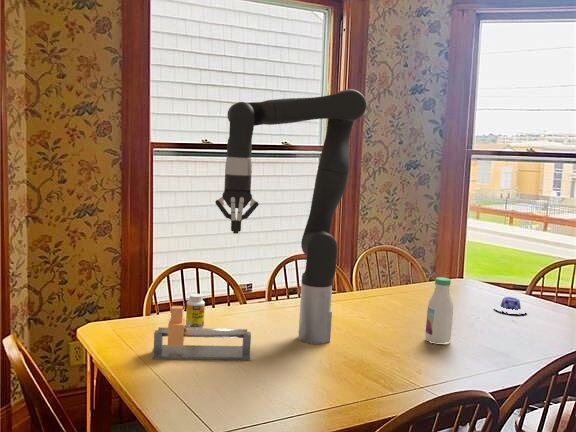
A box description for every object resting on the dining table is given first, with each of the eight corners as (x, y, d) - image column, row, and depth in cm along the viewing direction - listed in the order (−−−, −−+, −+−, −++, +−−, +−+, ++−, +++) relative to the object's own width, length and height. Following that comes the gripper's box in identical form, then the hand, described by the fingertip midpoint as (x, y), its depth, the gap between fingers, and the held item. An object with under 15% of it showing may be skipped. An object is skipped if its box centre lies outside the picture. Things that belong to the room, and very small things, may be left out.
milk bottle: (452, 340, 193) (458, 278, 190) (447, 347, 186) (453, 282, 184) (427, 336, 196) (433, 274, 194) (422, 342, 189) (427, 279, 187)
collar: (184, 339, 171) (185, 304, 170) (182, 346, 165) (184, 310, 164) (169, 339, 171) (170, 304, 169) (167, 346, 165) (168, 310, 163)
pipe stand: (248, 349, 175) (250, 323, 174) (250, 360, 166) (251, 334, 165) (155, 347, 172) (156, 322, 171) (152, 359, 163) (153, 332, 162)
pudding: (493, 314, 228) (494, 300, 227) (492, 306, 239) (494, 293, 238) (528, 318, 224) (529, 304, 224) (525, 310, 236) (527, 297, 235)
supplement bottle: (190, 330, 189) (191, 298, 187) (183, 325, 193) (184, 293, 192) (206, 328, 192) (208, 296, 190) (199, 323, 196) (200, 292, 195)
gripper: (260, 173, 180) (257, 232, 182) (215, 171, 179) (212, 230, 181) (262, 175, 173) (259, 236, 175) (214, 172, 171) (212, 234, 173)
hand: (235, 233), depth 178 cm, fingers closed
